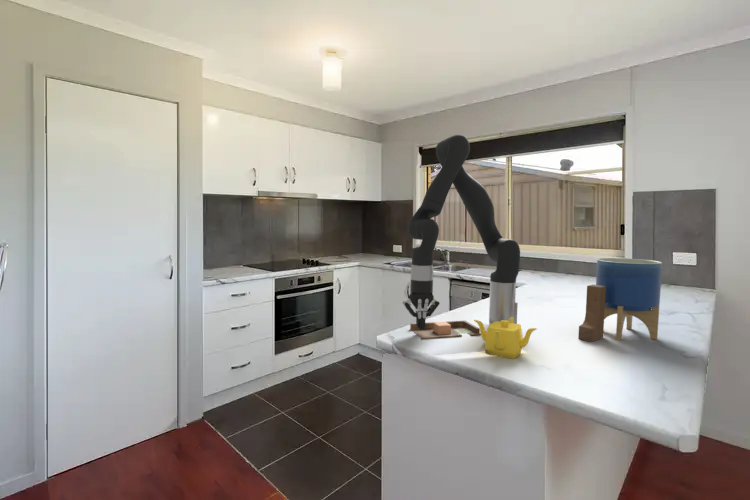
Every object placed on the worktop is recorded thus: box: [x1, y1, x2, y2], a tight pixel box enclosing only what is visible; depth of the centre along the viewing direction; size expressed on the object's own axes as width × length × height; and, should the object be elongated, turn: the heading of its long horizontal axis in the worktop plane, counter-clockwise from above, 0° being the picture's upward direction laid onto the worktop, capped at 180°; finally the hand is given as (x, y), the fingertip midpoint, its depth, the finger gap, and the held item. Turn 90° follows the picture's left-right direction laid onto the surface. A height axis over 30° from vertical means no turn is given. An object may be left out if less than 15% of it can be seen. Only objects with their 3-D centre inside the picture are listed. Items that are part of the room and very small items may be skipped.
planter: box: [595, 257, 663, 341], centre depth 138 cm, size 19×19×26 cm
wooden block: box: [578, 284, 606, 343], centre depth 133 cm, size 9×4×18 cm, turn 127°
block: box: [433, 321, 451, 335], centre depth 134 cm, size 4×4×3 cm
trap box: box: [409, 319, 481, 340], centre depth 134 cm, size 21×12×4 cm, turn 103°
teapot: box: [473, 317, 538, 360], centre depth 119 cm, size 15×14×10 cm
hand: (420, 328), depth 132 cm, fingers closed
